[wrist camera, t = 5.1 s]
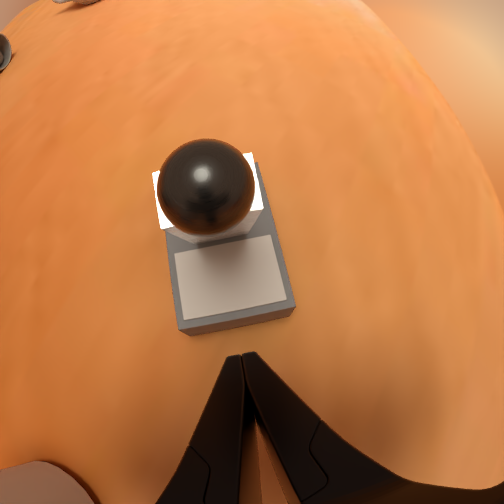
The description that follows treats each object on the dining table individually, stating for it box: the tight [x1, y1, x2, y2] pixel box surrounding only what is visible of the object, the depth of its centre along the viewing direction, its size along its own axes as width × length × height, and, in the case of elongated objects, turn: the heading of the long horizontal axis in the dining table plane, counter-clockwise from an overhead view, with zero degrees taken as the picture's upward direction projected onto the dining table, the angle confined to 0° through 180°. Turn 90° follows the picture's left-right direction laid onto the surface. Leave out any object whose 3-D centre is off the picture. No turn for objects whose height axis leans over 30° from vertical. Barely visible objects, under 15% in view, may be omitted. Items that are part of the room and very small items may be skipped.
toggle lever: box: [153, 139, 263, 244], centre depth 11 cm, size 3×3×10 cm
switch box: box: [166, 162, 296, 336], centre depth 18 cm, size 9×6×3 cm, turn 12°
